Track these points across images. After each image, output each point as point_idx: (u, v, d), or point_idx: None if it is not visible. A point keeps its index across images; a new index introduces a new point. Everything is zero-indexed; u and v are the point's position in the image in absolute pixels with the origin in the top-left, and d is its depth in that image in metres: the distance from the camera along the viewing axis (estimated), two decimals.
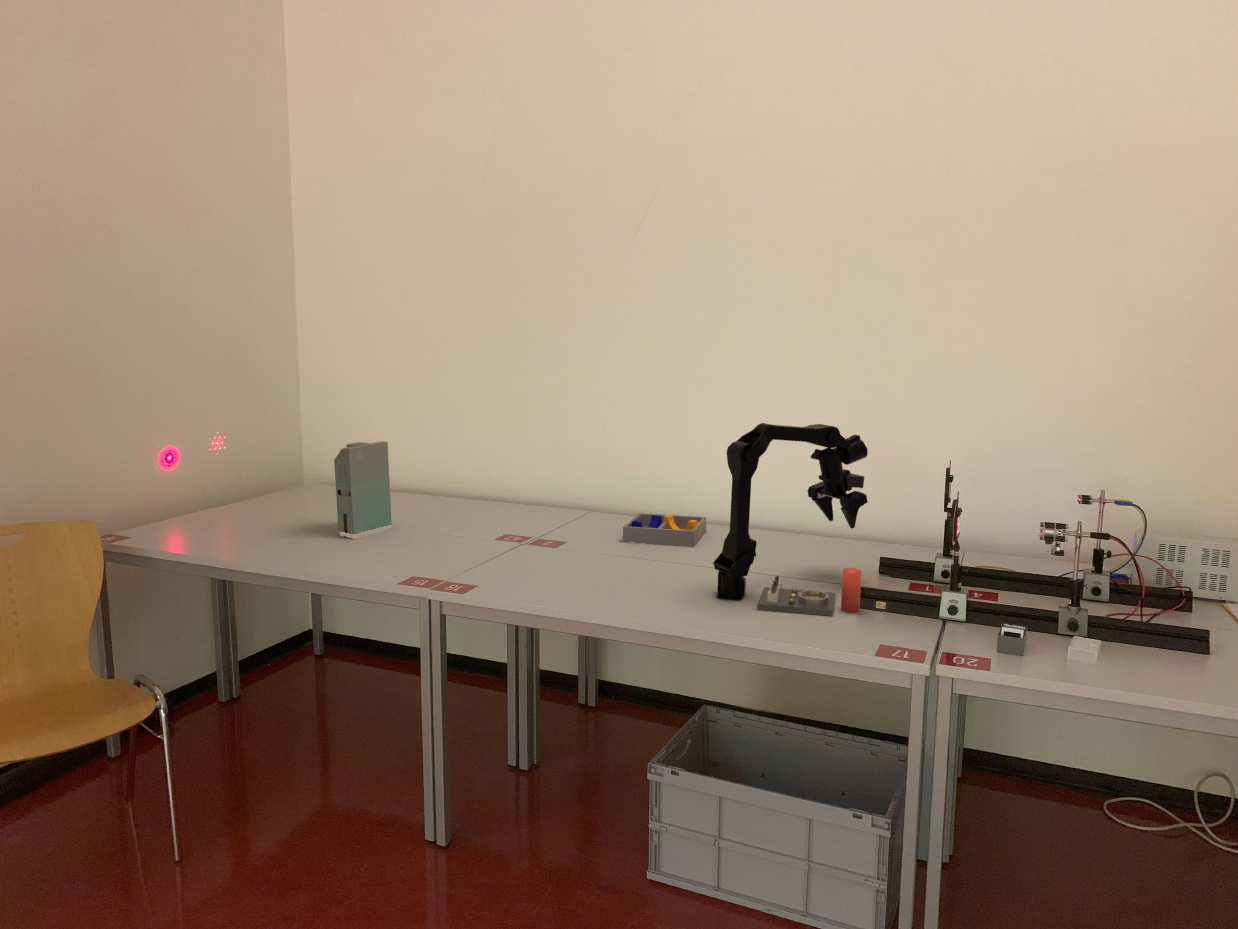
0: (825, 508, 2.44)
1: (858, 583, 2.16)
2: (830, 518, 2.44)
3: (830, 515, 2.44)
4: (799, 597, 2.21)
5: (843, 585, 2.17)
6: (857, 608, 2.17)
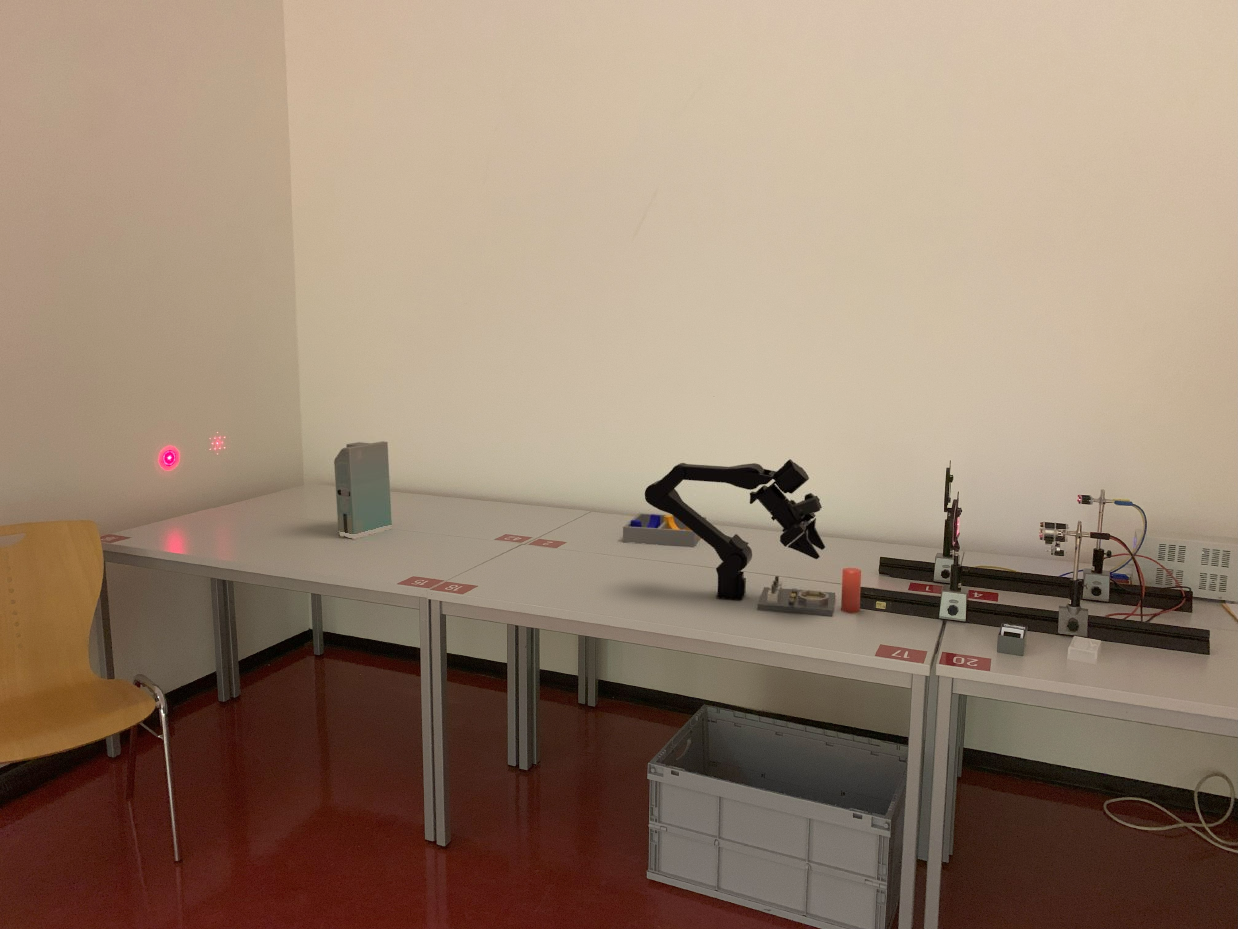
0: (811, 538, 2.25)
1: (858, 583, 2.16)
2: (820, 547, 2.24)
3: (819, 544, 2.24)
4: (799, 597, 2.21)
5: (843, 585, 2.17)
6: (857, 608, 2.17)
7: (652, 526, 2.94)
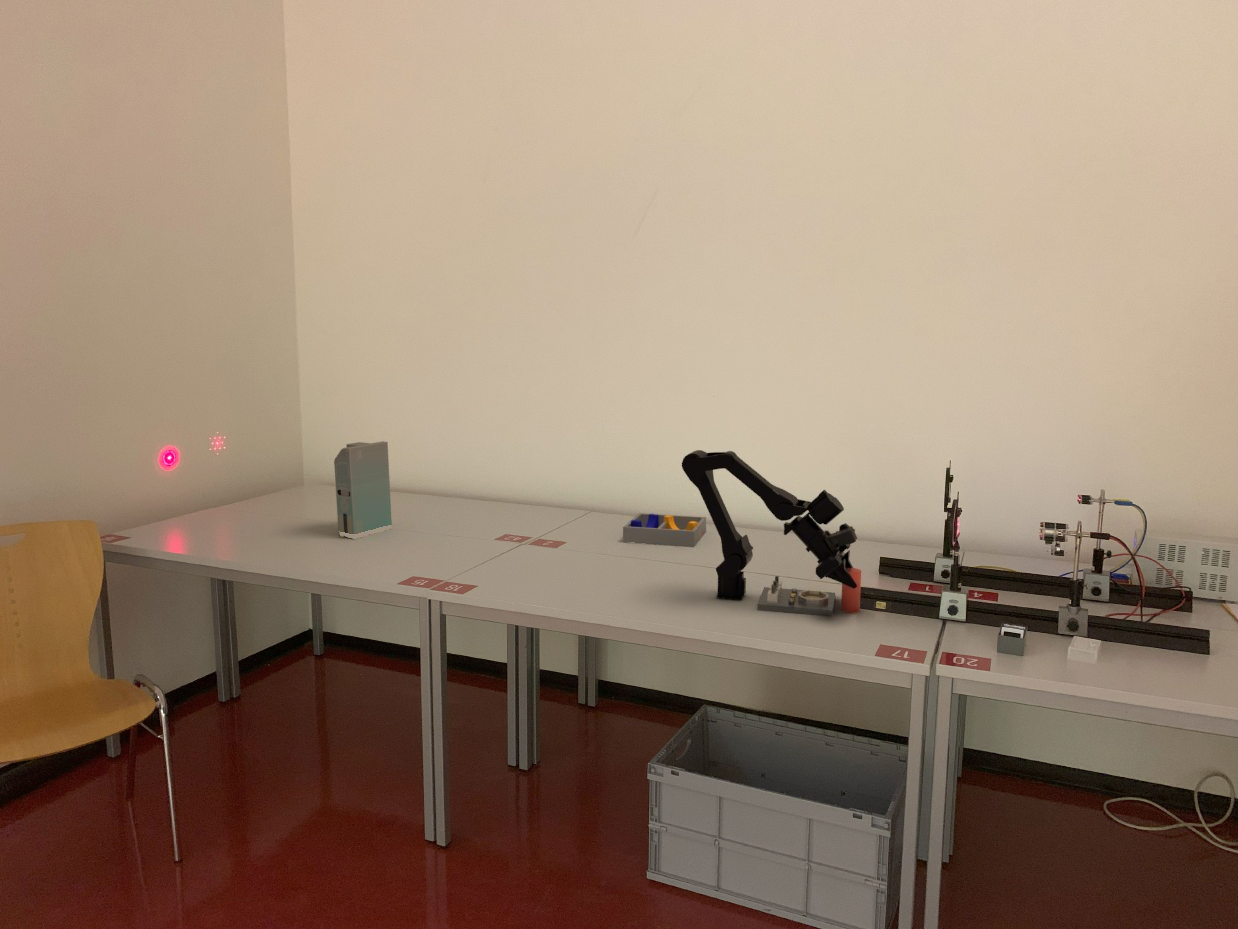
0: None
1: (858, 583, 2.16)
2: None
3: None
4: (799, 597, 2.21)
5: (843, 585, 2.17)
6: (857, 608, 2.17)
7: (651, 526, 2.95)
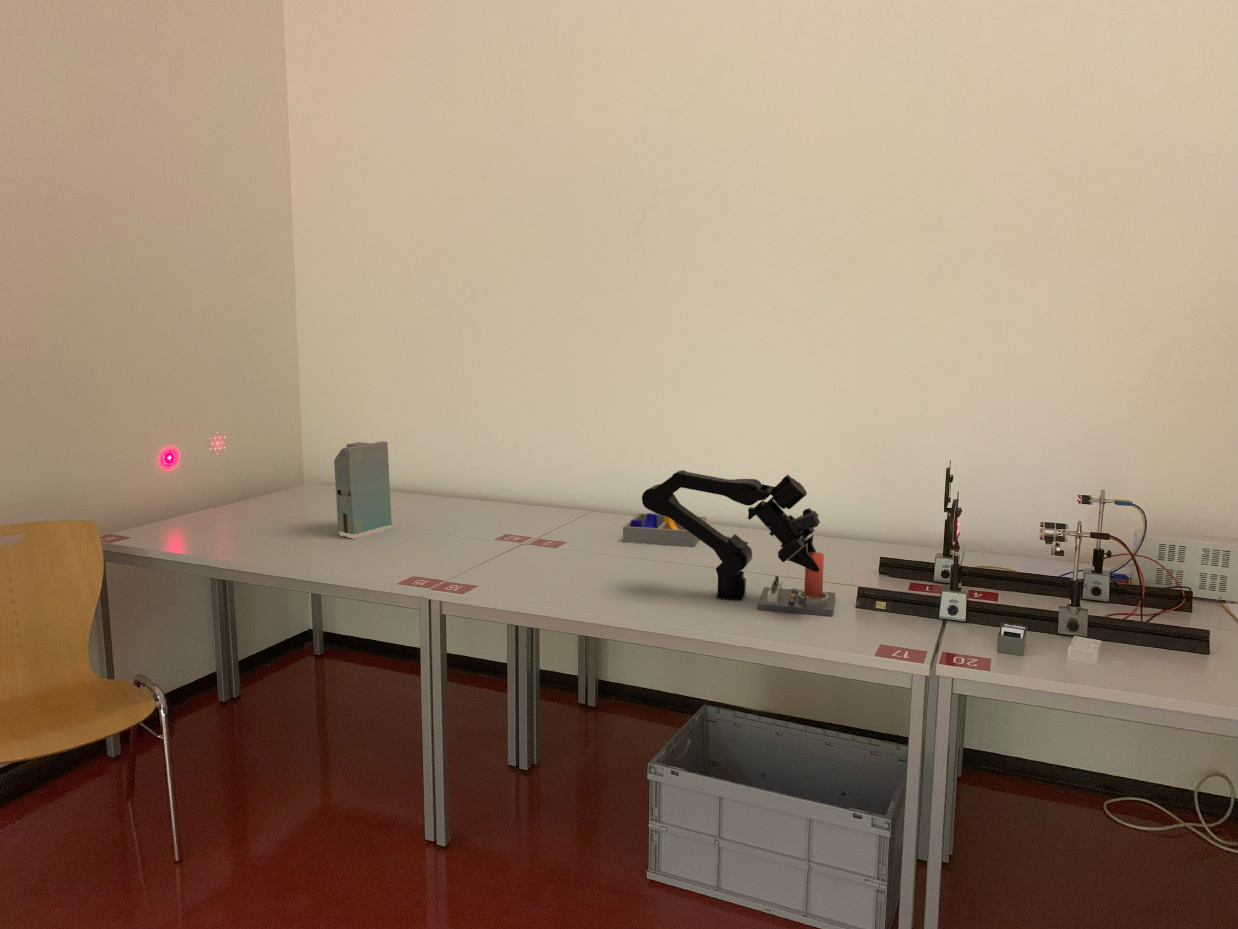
0: None
1: (821, 567, 2.19)
2: None
3: None
4: (799, 597, 2.21)
5: (806, 569, 2.20)
6: (820, 591, 2.20)
7: (649, 525, 2.95)
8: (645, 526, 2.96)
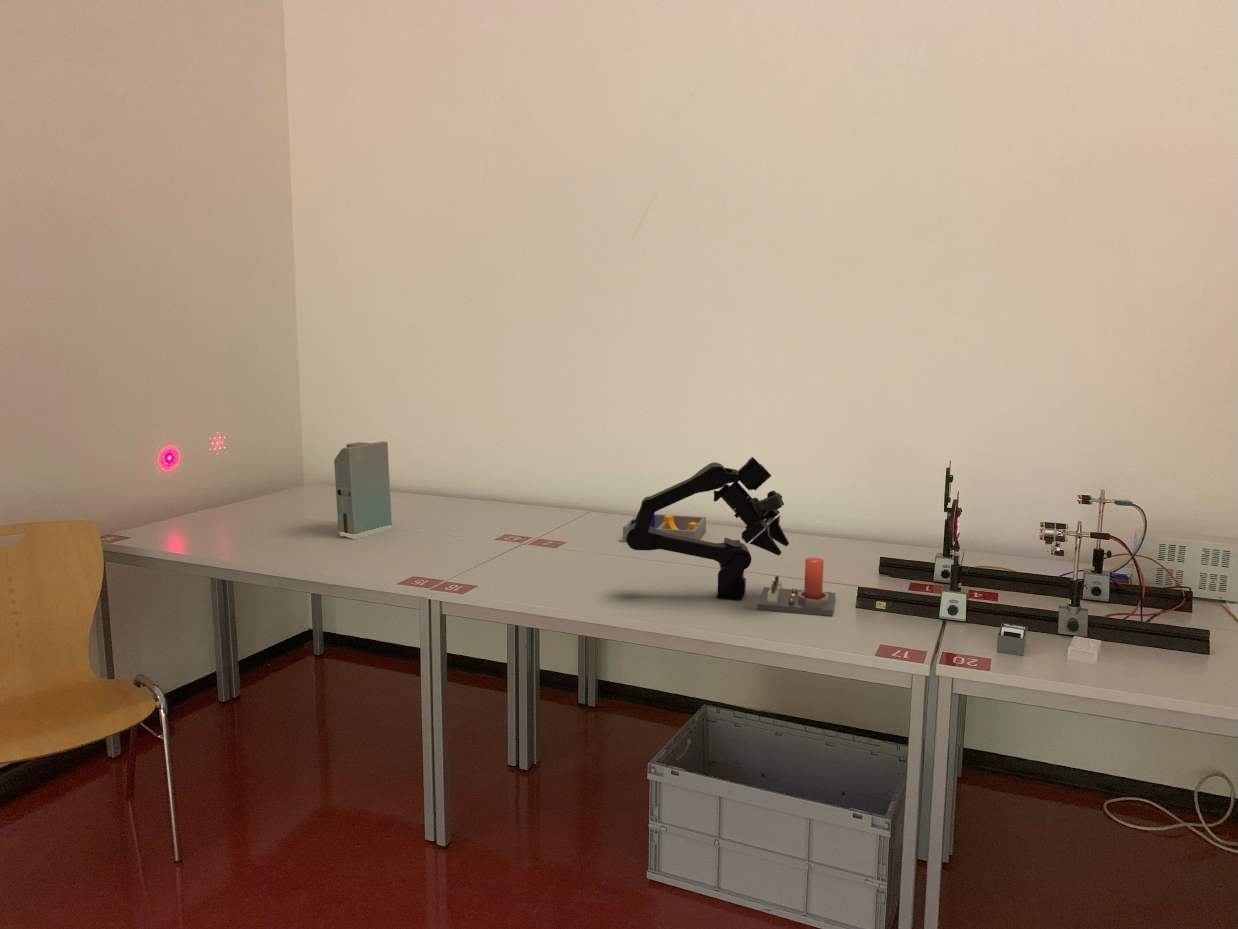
0: (775, 535, 2.28)
1: (820, 572, 2.19)
2: (784, 543, 2.27)
3: (783, 540, 2.27)
4: (799, 597, 2.21)
5: (806, 574, 2.20)
6: (819, 597, 2.20)
7: None
8: None
